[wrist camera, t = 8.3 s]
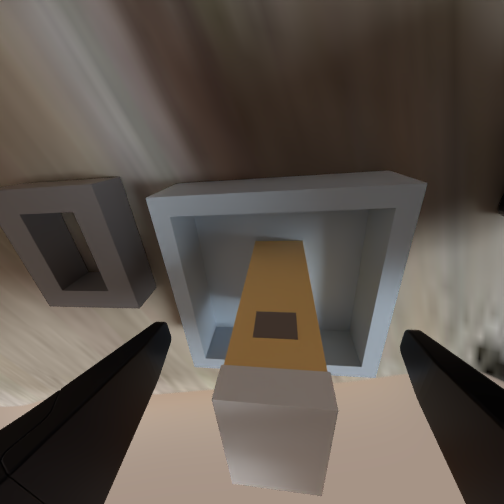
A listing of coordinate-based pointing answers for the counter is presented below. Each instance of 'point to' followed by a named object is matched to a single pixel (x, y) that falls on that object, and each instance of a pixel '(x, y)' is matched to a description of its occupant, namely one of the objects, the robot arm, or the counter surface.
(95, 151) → the counter surface
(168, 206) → the parts tray
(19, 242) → the block
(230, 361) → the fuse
